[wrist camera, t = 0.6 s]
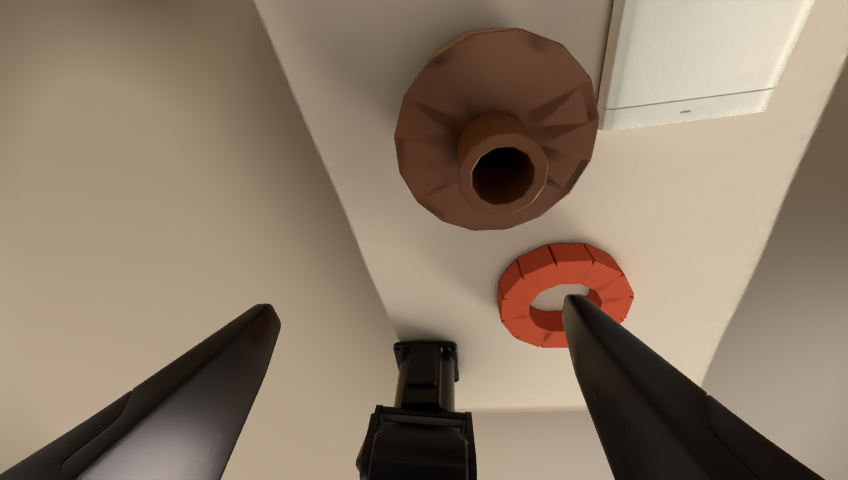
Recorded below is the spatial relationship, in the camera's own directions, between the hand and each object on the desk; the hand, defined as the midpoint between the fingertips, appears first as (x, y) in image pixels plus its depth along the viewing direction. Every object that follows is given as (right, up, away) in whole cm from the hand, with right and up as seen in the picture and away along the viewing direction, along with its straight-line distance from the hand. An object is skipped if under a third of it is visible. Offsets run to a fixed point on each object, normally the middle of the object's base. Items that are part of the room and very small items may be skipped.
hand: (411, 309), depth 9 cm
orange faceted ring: (+12, -2, +17) cm, 21 cm away
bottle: (+4, +10, +9) cm, 14 cm away
